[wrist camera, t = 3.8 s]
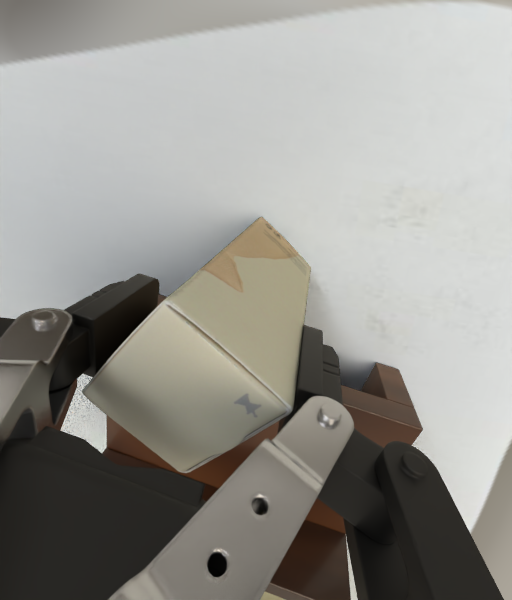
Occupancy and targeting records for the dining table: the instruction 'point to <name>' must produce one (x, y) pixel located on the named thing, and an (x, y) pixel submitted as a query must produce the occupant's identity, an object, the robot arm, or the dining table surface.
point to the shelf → (321, 519)
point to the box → (213, 354)
